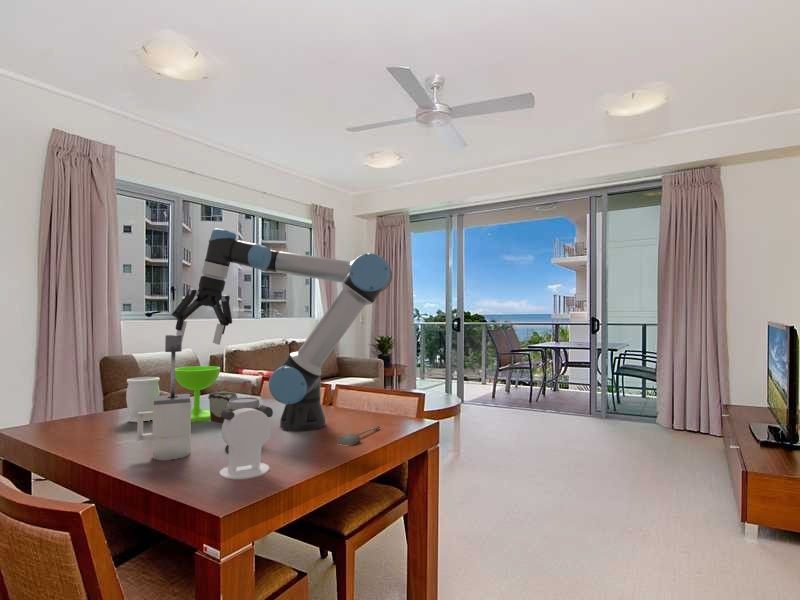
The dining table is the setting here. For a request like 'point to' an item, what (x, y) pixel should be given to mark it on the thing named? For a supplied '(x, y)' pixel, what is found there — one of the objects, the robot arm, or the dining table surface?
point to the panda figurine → (245, 441)
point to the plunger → (173, 355)
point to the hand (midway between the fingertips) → (197, 342)
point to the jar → (141, 396)
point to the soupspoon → (352, 437)
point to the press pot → (168, 426)
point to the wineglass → (197, 385)
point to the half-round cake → (219, 405)
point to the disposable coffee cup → (243, 403)
